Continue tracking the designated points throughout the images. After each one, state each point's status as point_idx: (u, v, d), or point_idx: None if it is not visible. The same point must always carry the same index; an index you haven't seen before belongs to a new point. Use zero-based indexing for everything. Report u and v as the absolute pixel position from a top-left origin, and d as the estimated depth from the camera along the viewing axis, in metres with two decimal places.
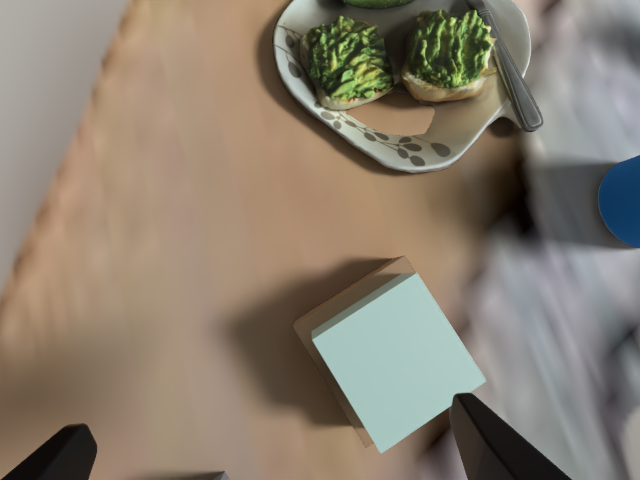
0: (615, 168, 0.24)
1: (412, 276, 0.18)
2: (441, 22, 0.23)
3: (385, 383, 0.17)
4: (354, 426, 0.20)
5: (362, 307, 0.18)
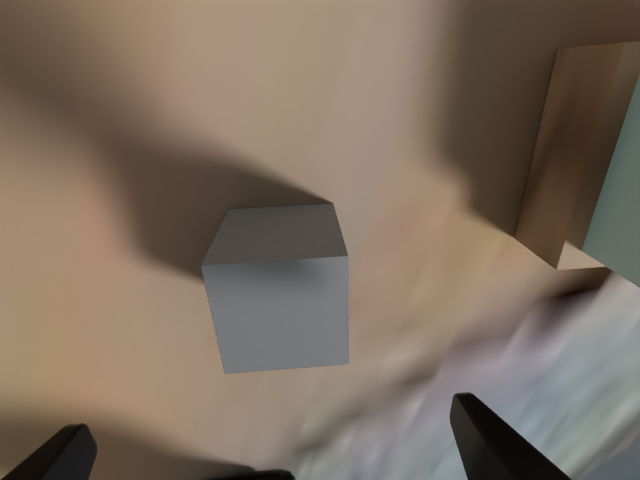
0: None
1: None
2: None
3: None
4: (568, 240, 0.13)
5: None
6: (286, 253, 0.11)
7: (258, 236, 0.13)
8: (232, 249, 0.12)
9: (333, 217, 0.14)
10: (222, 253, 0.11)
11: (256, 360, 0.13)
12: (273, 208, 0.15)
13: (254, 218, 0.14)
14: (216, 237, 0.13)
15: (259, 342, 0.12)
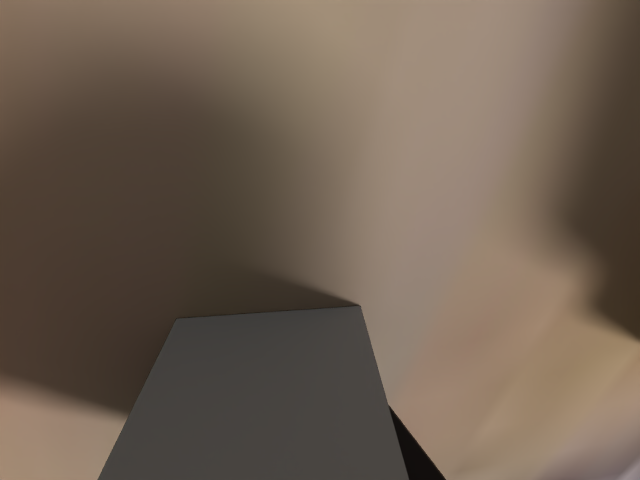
0: None
1: None
2: None
3: None
4: None
5: None
6: None
7: (215, 427, 0.06)
8: None
9: (367, 357, 0.07)
10: None
11: None
12: (255, 320, 0.08)
13: (215, 354, 0.07)
14: (126, 428, 0.06)
15: None
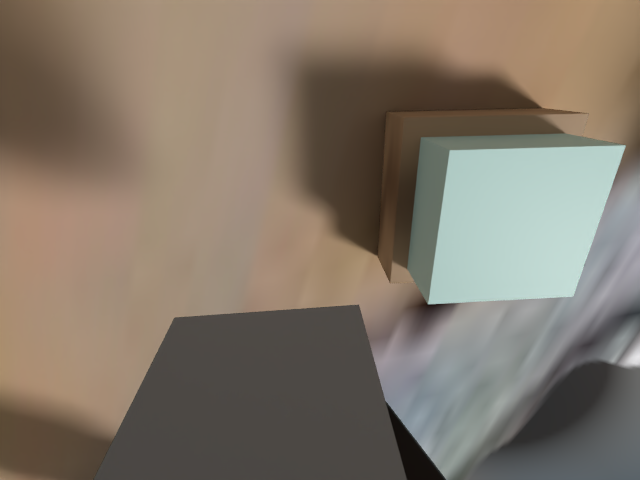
0: None
1: (616, 146, 0.12)
2: None
3: (486, 245, 0.14)
4: (394, 260, 0.17)
5: (532, 147, 0.12)
6: None
7: (212, 426, 0.06)
8: None
9: (365, 356, 0.07)
10: None
11: None
12: (254, 319, 0.08)
13: (213, 353, 0.07)
14: (123, 427, 0.06)
15: None
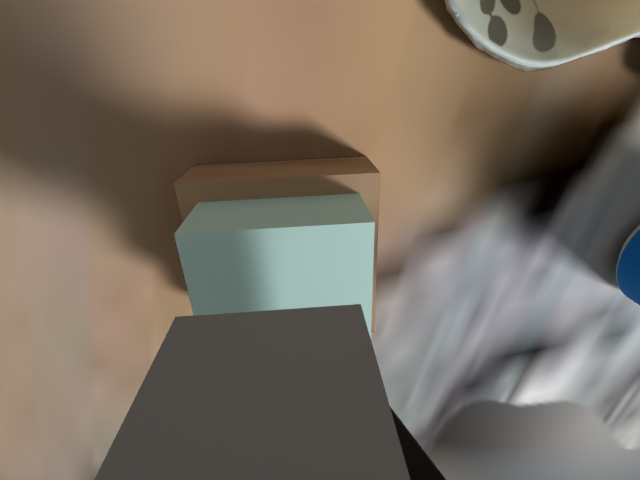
0: None
1: (365, 223, 0.11)
2: None
3: None
4: None
5: (270, 227, 0.11)
6: None
7: (214, 425, 0.06)
8: None
9: (368, 355, 0.07)
10: None
11: None
12: (255, 318, 0.08)
13: (215, 353, 0.07)
14: (124, 426, 0.06)
15: None
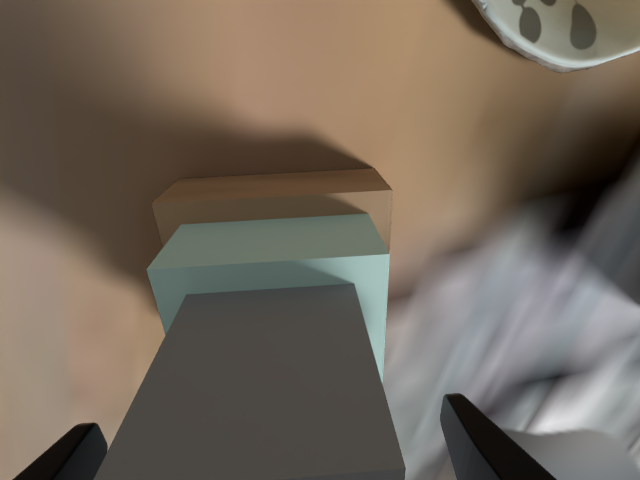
0: None
1: (377, 256, 0.09)
2: None
3: None
4: None
5: (263, 260, 0.09)
6: (274, 452, 0.05)
7: (224, 380, 0.07)
8: (166, 430, 0.06)
9: (359, 325, 0.08)
10: (142, 446, 0.06)
11: None
12: (258, 295, 0.09)
13: (223, 323, 0.08)
14: (146, 381, 0.07)
15: None
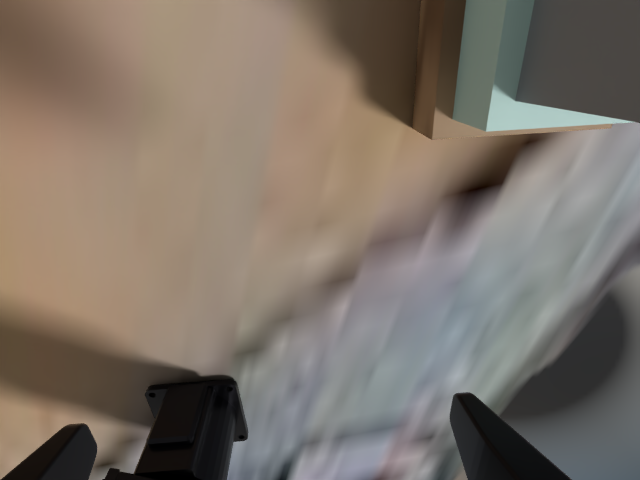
0: None
1: None
2: None
3: None
4: (437, 106, 0.14)
5: None
6: None
7: None
8: None
9: None
10: None
11: None
12: None
13: None
14: None
15: None
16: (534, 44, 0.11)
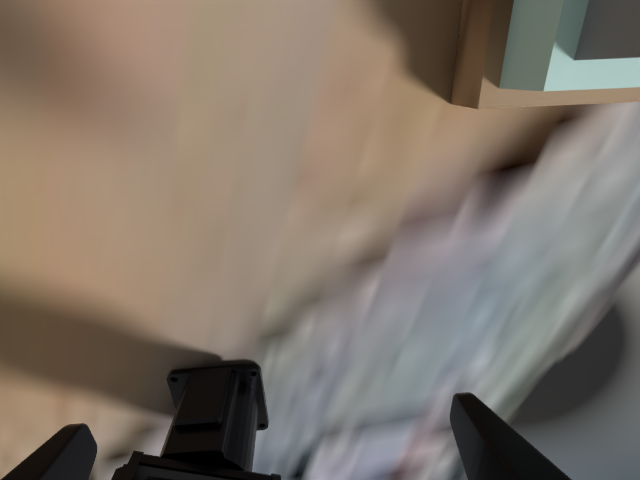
0: None
1: None
2: None
3: None
4: (485, 75, 0.15)
5: None
6: None
7: None
8: None
9: None
10: None
11: None
12: None
13: None
14: None
15: None
16: (599, 0, 0.11)
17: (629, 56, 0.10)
